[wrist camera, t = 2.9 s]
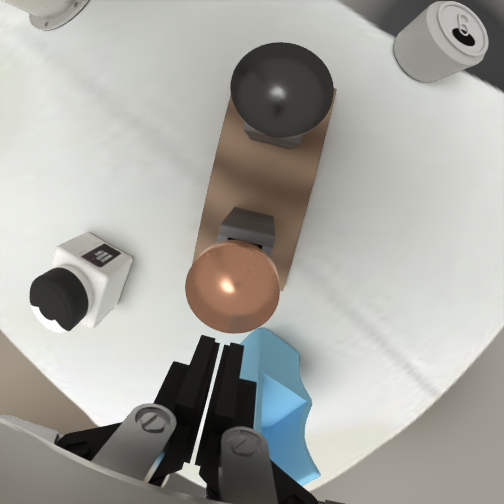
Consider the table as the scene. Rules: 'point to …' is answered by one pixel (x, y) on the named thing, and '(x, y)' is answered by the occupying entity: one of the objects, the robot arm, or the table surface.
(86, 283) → the container
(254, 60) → the plunger black
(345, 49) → the table surface
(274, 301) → the plunger terracotta
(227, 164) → the stand
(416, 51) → the can
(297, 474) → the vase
